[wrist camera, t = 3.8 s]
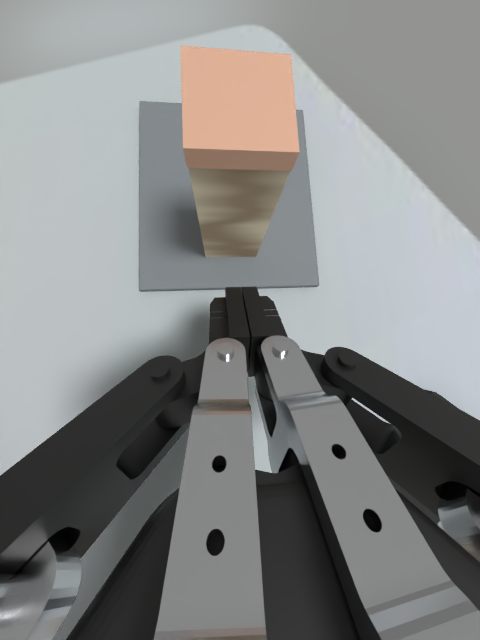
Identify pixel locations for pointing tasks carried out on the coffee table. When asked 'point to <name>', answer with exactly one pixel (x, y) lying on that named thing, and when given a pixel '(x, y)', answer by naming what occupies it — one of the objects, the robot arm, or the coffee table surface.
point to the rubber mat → (183, 225)
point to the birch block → (237, 142)
